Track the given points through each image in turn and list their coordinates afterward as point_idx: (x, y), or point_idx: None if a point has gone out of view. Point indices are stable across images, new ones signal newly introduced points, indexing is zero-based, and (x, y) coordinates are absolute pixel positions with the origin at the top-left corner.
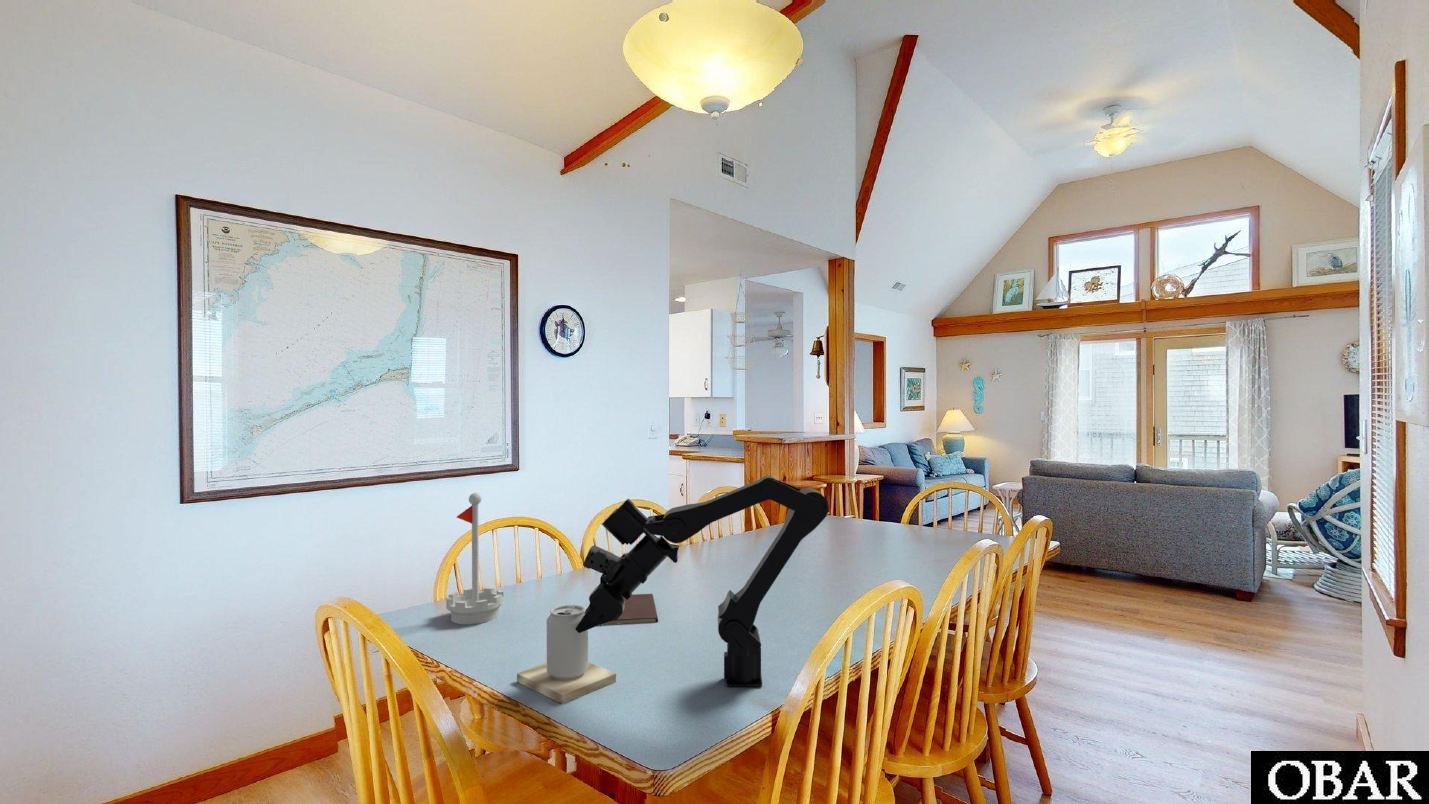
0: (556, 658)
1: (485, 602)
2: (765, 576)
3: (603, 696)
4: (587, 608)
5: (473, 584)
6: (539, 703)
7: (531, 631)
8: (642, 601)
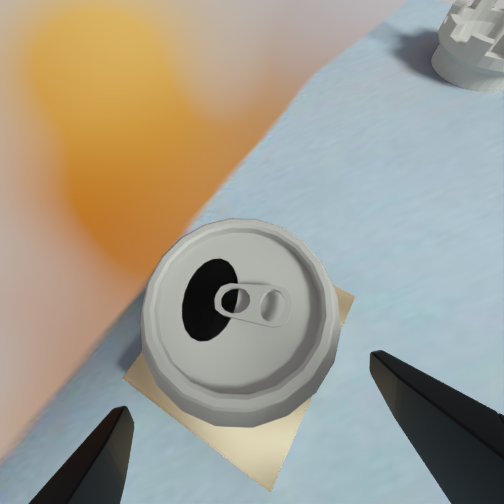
0: (185, 320)
1: (485, 46)
2: None
3: (174, 477)
4: (388, 369)
5: None
6: (136, 322)
7: (464, 163)
8: None
